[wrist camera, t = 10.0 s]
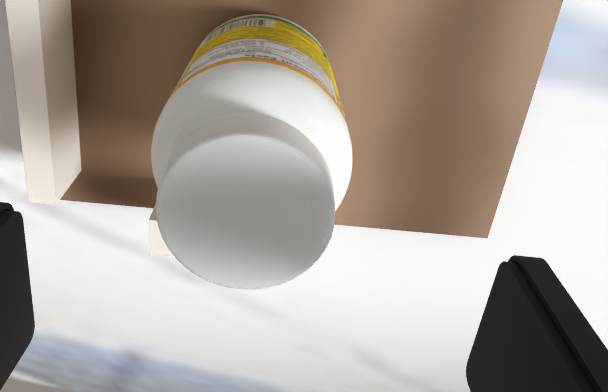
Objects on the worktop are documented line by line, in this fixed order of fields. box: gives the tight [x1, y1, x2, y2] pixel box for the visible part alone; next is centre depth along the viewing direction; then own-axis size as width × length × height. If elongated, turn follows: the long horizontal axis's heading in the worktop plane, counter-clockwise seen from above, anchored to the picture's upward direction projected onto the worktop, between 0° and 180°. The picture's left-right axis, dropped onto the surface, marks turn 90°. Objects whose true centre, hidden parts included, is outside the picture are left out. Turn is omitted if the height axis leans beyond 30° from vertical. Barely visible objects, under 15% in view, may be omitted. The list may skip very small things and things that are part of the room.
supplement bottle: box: [151, 14, 352, 289], centre depth 18 cm, size 6×6×10 cm
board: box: [60, 0, 563, 238], centre depth 21 cm, size 19×18×1 cm
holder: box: [5, 0, 174, 256], centre depth 21 cm, size 10×12×4 cm
